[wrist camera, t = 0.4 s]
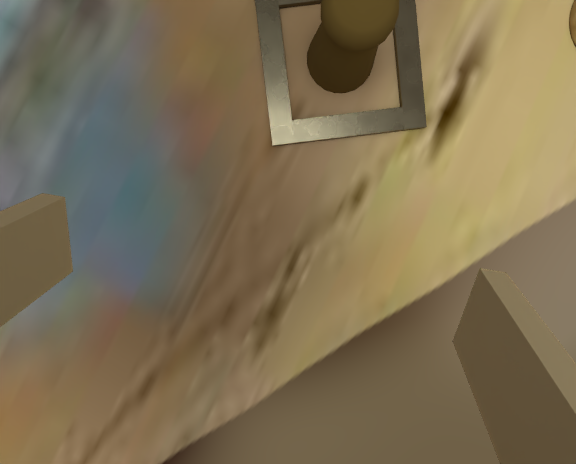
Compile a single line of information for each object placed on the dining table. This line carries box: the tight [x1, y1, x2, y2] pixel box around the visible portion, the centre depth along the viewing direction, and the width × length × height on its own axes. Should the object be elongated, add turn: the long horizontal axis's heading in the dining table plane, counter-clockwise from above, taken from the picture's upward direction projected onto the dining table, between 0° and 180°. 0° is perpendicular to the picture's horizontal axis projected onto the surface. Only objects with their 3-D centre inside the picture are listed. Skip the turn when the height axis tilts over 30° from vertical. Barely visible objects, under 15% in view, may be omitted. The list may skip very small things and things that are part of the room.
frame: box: [255, 0, 427, 146], centre depth 35 cm, size 14×14×1 cm
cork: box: [307, 0, 399, 93], centre depth 30 cm, size 6×6×11 cm
